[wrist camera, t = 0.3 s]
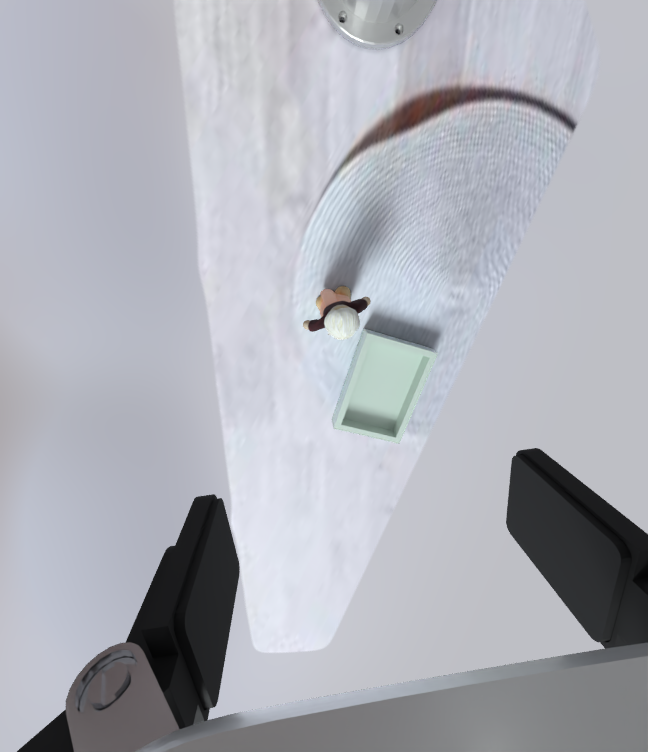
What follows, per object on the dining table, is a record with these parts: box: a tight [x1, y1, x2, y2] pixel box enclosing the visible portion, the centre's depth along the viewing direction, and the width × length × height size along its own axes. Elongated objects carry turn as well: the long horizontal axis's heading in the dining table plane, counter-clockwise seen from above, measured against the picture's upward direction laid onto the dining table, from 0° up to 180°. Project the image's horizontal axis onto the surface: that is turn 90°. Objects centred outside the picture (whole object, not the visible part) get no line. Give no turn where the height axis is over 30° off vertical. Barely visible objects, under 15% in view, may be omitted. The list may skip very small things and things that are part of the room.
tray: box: [332, 328, 438, 444], centre depth 46 cm, size 14×10×3 cm
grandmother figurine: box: [303, 286, 370, 340], centre depth 37 cm, size 8×4×13 cm, turn 123°
